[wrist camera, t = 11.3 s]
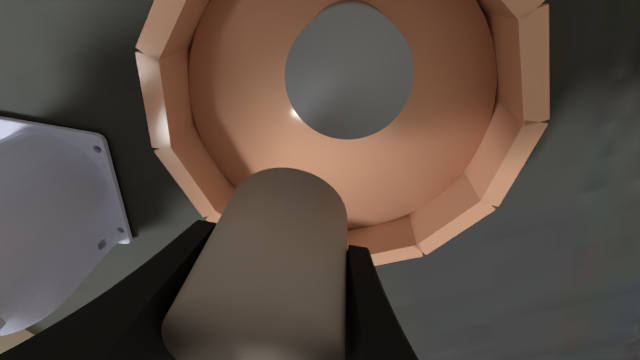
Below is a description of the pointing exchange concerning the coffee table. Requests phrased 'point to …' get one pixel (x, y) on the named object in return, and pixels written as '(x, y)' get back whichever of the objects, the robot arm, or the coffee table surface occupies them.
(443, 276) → the coffee table surface
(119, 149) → the coffee table surface
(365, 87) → the slate stone
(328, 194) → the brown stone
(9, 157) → the robot arm
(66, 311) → the coffee table surface
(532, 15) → the bowl
